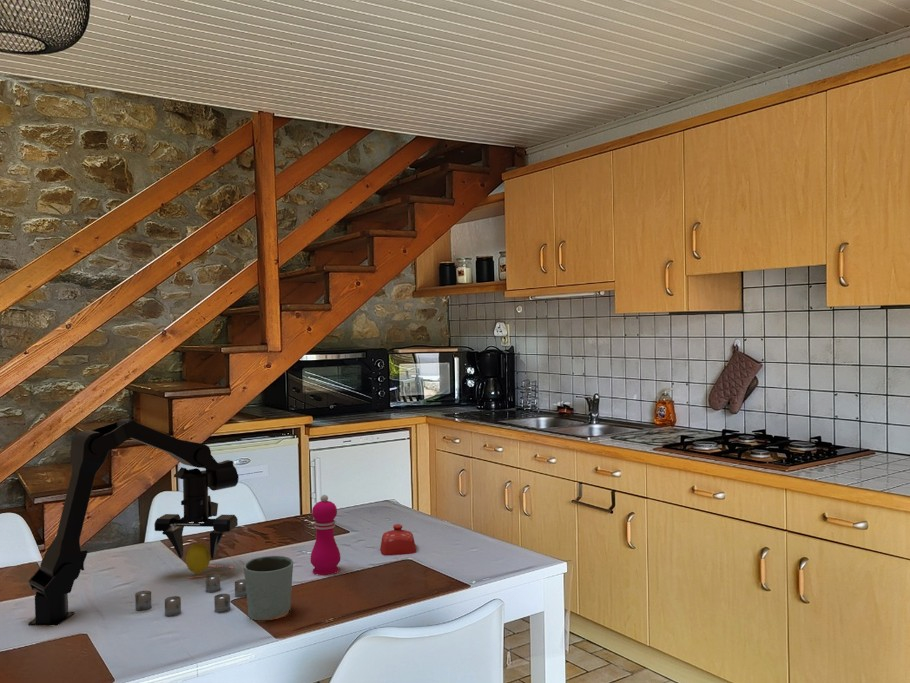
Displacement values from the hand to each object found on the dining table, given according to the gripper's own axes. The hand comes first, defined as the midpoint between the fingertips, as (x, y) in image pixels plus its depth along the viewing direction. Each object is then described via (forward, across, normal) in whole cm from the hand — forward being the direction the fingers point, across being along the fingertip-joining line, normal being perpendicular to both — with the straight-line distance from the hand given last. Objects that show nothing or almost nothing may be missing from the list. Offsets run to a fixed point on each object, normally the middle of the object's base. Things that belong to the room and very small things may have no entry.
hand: (197, 557), depth 185 cm
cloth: (+6, -2, -4) cm, 8 cm away
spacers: (+5, -6, +17) cm, 19 cm away
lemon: (+4, 0, 0) cm, 4 cm away
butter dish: (+6, -46, -20) cm, 51 cm away
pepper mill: (+5, -31, -3) cm, 32 cm away
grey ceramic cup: (+5, -26, +24) cm, 36 cm away
